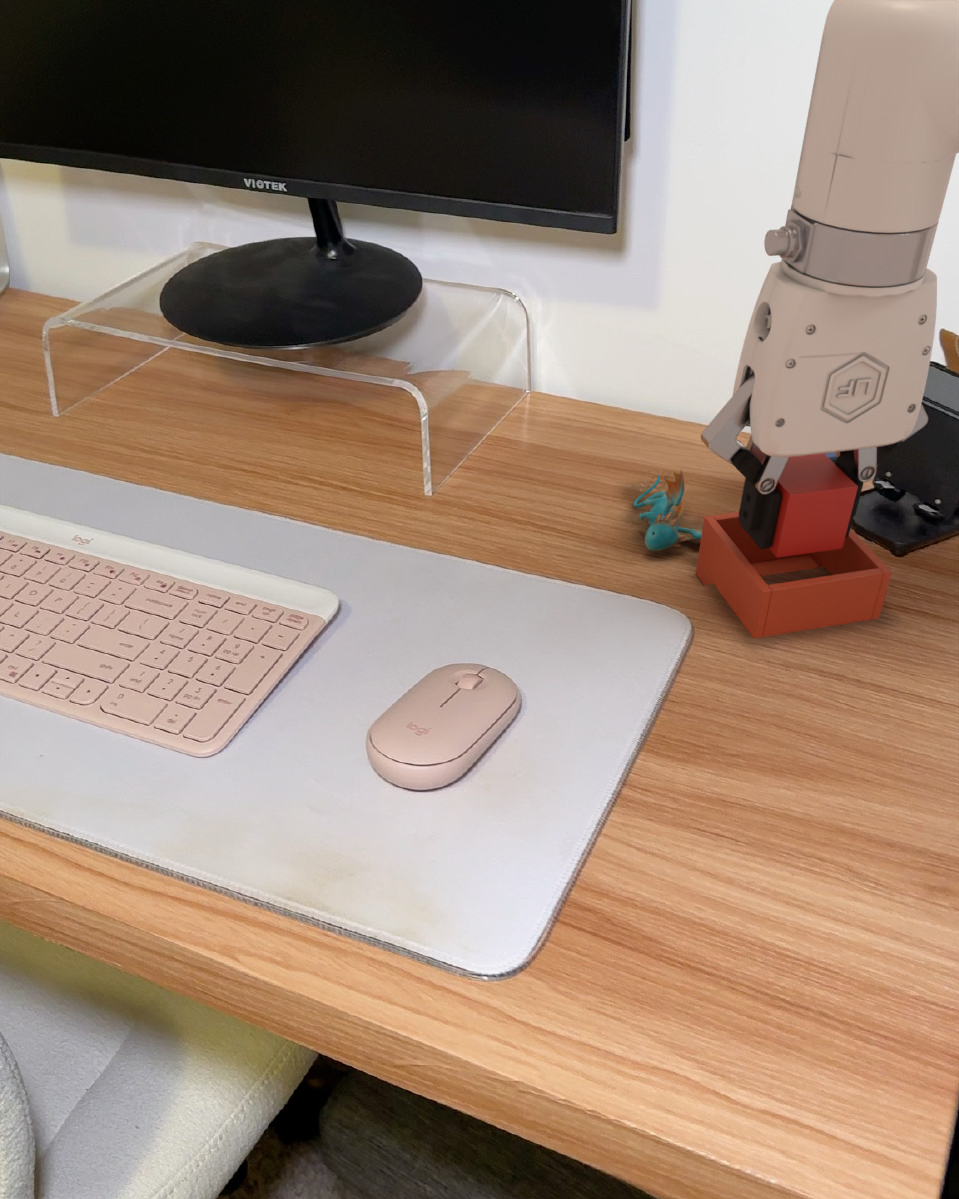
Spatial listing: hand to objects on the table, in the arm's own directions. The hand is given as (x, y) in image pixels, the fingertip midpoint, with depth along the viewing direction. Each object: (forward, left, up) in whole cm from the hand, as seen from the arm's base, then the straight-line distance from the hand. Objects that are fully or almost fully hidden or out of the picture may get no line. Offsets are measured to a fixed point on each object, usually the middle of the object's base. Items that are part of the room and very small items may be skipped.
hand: (793, 529), depth 71 cm
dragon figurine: (+4, -10, -6) cm, 12 cm away
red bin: (0, 0, -6) cm, 6 cm away
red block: (0, 0, 0) cm, 0 cm away
